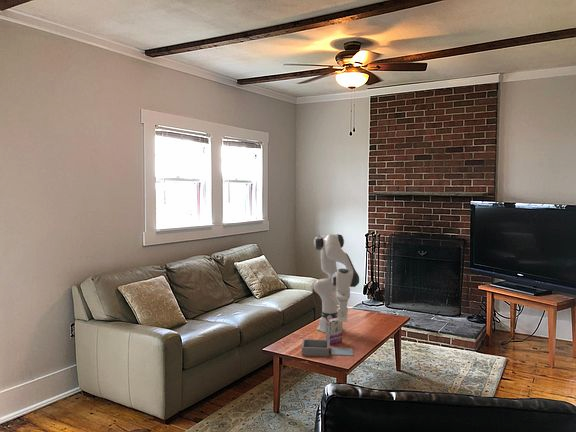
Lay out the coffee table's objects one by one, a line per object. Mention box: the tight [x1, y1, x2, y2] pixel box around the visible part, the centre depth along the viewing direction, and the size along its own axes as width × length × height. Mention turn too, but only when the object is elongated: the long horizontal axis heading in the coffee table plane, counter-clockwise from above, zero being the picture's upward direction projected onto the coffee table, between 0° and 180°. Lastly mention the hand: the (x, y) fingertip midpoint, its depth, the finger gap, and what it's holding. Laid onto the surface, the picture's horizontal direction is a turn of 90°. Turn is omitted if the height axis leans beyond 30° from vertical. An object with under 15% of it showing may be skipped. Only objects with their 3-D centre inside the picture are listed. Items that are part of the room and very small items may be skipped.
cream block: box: [337, 306, 349, 323], centre depth 289 cm, size 4×6×8 cm
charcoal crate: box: [301, 338, 330, 357], centre depth 292 cm, size 16×17×5 cm
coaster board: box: [330, 347, 354, 357], centre depth 291 cm, size 12×14×1 cm
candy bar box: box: [325, 317, 343, 346], centre depth 308 cm, size 11×5×16 cm, turn 126°
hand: (342, 315), depth 289 cm, fingers closed on cream block, 4 cm apart
